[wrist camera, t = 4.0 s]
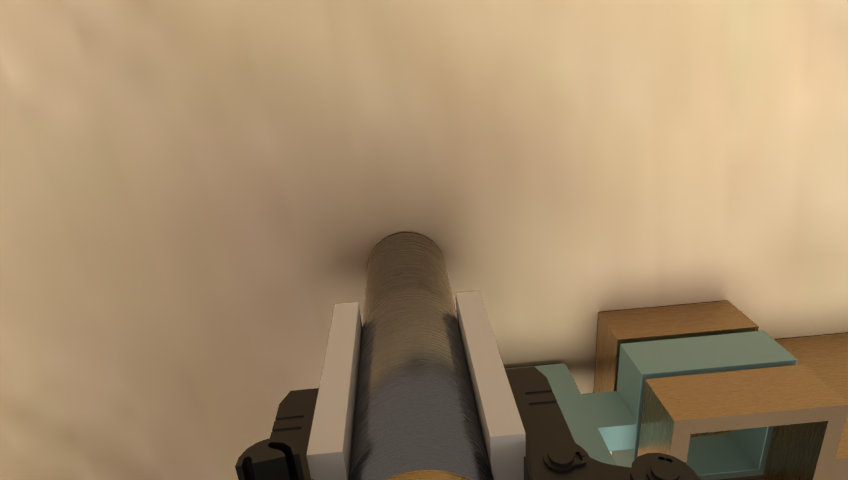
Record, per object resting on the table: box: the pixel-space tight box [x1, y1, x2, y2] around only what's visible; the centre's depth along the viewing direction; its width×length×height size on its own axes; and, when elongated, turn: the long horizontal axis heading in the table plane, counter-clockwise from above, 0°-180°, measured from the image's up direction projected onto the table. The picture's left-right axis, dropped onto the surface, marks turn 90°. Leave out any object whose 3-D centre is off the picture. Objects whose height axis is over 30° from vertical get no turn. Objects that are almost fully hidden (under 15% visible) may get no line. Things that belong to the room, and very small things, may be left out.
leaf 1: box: [508, 331, 797, 480], centre depth 22 cm, size 14×6×7 cm, turn 94°
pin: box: [349, 232, 494, 480], centre depth 16 cm, size 3×3×14 cm
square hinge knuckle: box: [594, 301, 848, 480], centre depth 22 cm, size 14×6×7 cm, turn 94°
